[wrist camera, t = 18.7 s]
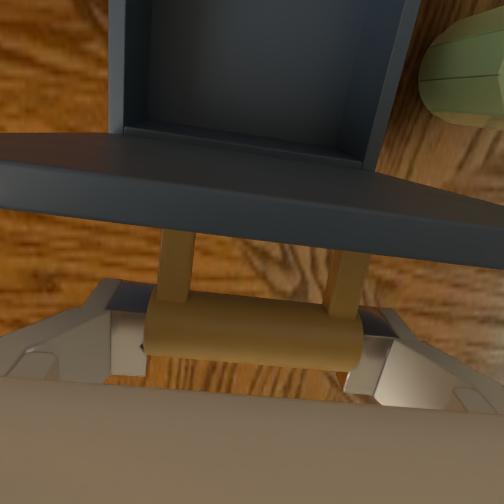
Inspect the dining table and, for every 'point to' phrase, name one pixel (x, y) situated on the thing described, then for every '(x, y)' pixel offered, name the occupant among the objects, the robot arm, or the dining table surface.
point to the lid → (248, 234)
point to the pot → (467, 72)
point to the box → (260, 74)
